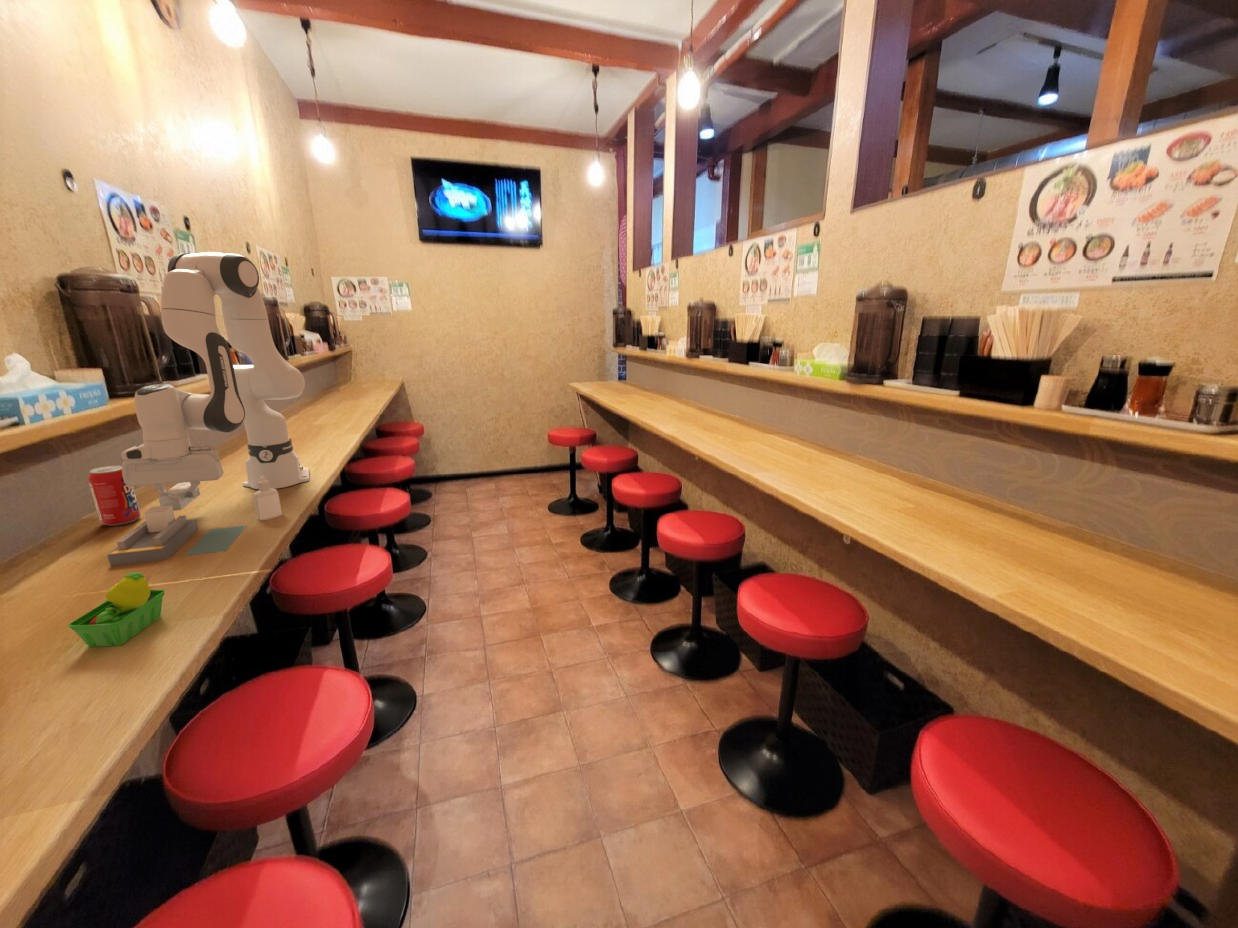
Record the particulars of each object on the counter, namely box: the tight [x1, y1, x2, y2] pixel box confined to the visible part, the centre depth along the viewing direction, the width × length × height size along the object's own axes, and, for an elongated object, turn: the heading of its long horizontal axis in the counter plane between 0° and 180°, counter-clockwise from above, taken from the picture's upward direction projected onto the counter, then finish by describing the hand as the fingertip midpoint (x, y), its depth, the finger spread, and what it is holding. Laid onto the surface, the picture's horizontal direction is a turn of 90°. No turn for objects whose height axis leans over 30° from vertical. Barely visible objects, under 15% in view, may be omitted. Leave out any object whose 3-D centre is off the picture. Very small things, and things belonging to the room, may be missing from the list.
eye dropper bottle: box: [252, 477, 283, 521], centre depth 138 cm, size 4×6×12 cm
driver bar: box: [157, 482, 201, 512], centre depth 133 cm, size 12×4×4 cm, turn 20°
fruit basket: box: [67, 571, 166, 648], centre depth 88 cm, size 11×9×11 cm
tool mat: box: [184, 524, 248, 557], centre depth 125 cm, size 16×8×1 cm, turn 20°
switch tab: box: [143, 505, 176, 533], centre depth 123 cm, size 4×4×5 cm
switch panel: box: [107, 515, 199, 567], centre depth 121 cm, size 18×10×5 cm, turn 20°
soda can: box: [87, 465, 142, 527], centre depth 133 cm, size 8×8×15 cm
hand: (180, 498), depth 134 cm, fingers closed on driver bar, 4 cm apart
